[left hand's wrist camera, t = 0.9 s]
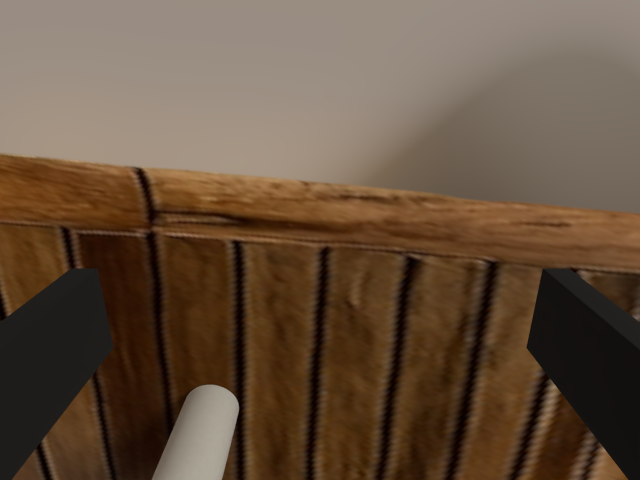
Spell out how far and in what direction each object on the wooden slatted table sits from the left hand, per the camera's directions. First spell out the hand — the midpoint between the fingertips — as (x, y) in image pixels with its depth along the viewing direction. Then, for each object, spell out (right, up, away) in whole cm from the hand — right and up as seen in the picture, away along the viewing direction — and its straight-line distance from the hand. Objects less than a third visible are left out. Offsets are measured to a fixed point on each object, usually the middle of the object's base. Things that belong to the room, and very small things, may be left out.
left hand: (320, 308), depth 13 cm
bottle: (-13, -17, +37) cm, 42 cm away
